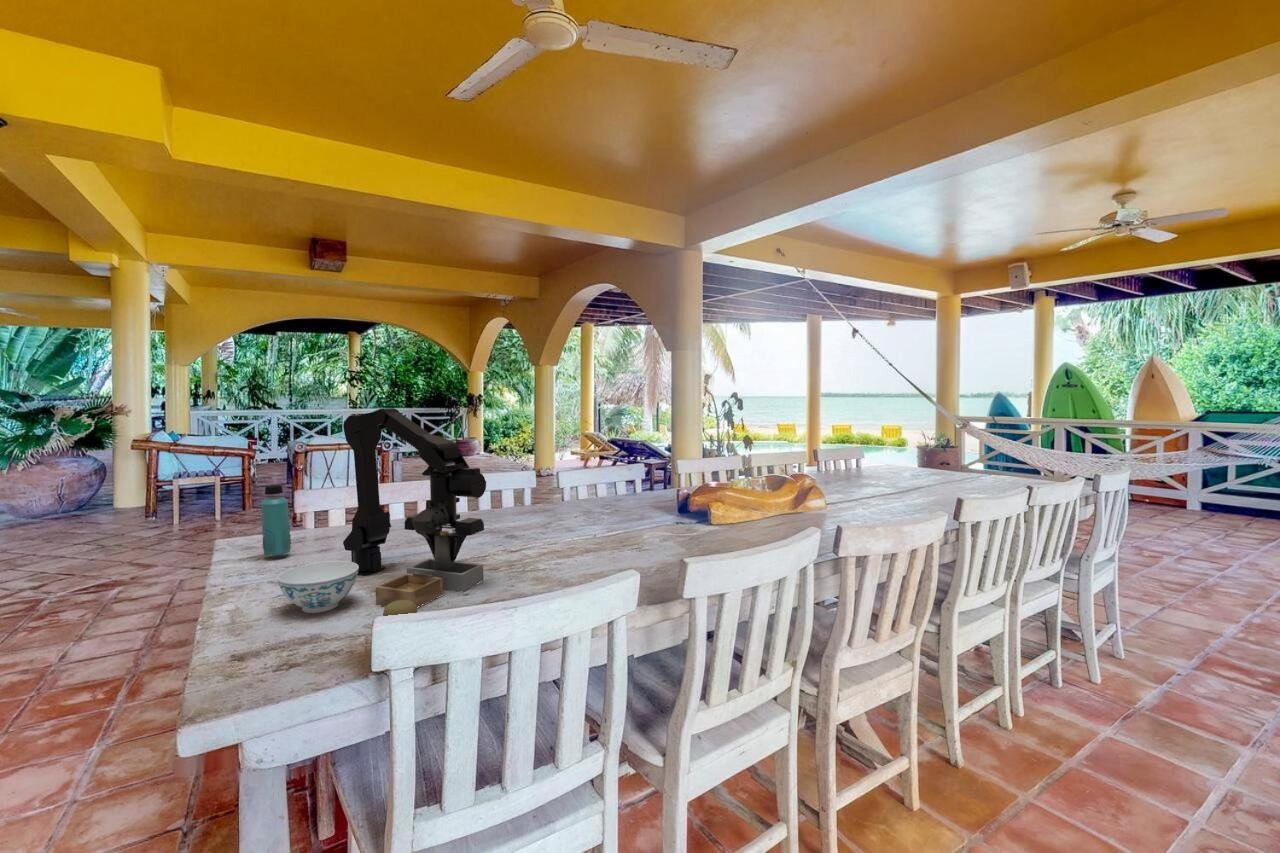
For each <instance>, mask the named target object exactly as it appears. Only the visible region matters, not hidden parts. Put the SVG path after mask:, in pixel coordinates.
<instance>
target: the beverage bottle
mask: <svg viewBox="0 0 1280 853" xmlns="http://www.w3.org/2000/svg"><path fill="white" fill-rule="evenodd" d="M283 493H284V492H283V486H282V485H280V484H279V485H278V484H274V485H273V484H271V485H267V486H265V487H264V495H266V496H267V495H268V496H269V495H279V494H280V495H281V494H283ZM260 506H261V508H260V509H261V527H262V528H261V530H262V533H261V534H262V547H263V548H262V549H263V553H264V555H265V556H279V555H285V554H287V553H290V552H291V548H292V546H291V545H292V542H291V541H292V540H291V529H290V528H291V526H290V522H291V521H290V517H289V501H288V499H286V498H285V497H284V496H272V497H267V498H264V499H263V500H262V501H261V503H260Z"/></svg>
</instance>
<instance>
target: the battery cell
mask: <svg viewBox="0 0 1280 853" xmlns="http://www.w3.org/2000/svg"><path fill="white" fill-rule="evenodd" d="M451 533H452V532H449V531H448V530H442V531H441V532H440V533H438V534H435V535H434V540H435V570H438V571H446V572H453V571H454V570H455V561H456V560H455V561H451V556H450V540H449V539H448V537H447V536H446V535H448V534H451Z"/></svg>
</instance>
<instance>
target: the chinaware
mask: <svg viewBox="0 0 1280 853" xmlns="http://www.w3.org/2000/svg"><path fill="white" fill-rule="evenodd" d="M358 569H359V566H358V565H357V564H356V563H353V562H352V561H348V560H347V561H346V560H326V561H318V562H310V563H306V564H302V565H298V566H295V567H291V568H289V569H286V570H284V571H282V572H280V573H279V574H278V575H277V577H276V579H277V583H278V585H279V588H280V591H281V592H282V594H283V595H284V597H285V598H286V599H287V600H288V601H289V602H290V603H292V604H294V605H296V606H297V607H300V608H302V610H301V611H303V613H307V614H317V613H324V612H327V611H331V610H333V609H335V608H336V607H338V606H339V602H340V601H341V600H342V599H343V598H345V597H346V596H347V595H348V594H349V593H350V591H351V590H352V589H353V586H354V585H355V582H356V579H357V577H358V575H359V574H358Z"/></svg>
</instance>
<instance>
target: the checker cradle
mask: <svg viewBox="0 0 1280 853" xmlns="http://www.w3.org/2000/svg"><path fill="white" fill-rule="evenodd" d="M406 583H414V584H422V586H420V587H418V588H416V589H414V590H412V591H411V590H404V589H397V588H398V587H400V586H402V585H404V584H406ZM374 588H375V606H376V605H381V606H380V607H383V606H387V605H388V604H389V603H392V602H394V601H399V600H409V601H412V602H414V604H415V605H416V607H418V606H421V605H422V604H425V603H427V602H429V601H431V600H433V599H435V598H437V597H439V596H441V595H444V591H443V590H444V589H443V585H442V578H439V577H434V574H426V573H418V572H415V573H413V574H408V573H407V572H406V574H403V575H400V576H398V577H396V578H394V579H391V580H389V581H386V582H384V583H382V584H380V585H378V586H375V587H374ZM441 597H442V596H441ZM439 598H440V597H439ZM437 599H438V598H437ZM435 600H436V599H435ZM433 601H434V600H433ZM431 602H432V601H431ZM429 603H430V602H429ZM427 604H428V603H427ZM425 605H426V604H425Z"/></svg>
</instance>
